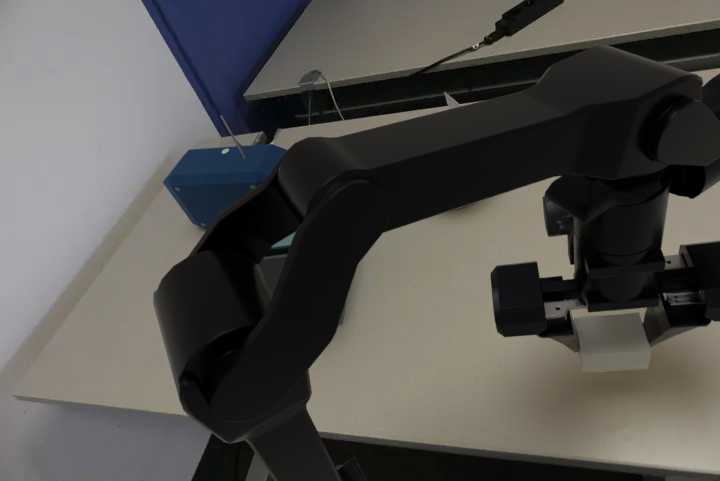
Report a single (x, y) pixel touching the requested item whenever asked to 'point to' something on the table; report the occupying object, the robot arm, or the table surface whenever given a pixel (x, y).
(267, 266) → the hatch
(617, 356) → the gray rectangular box
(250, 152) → the radio
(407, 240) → the table surface
